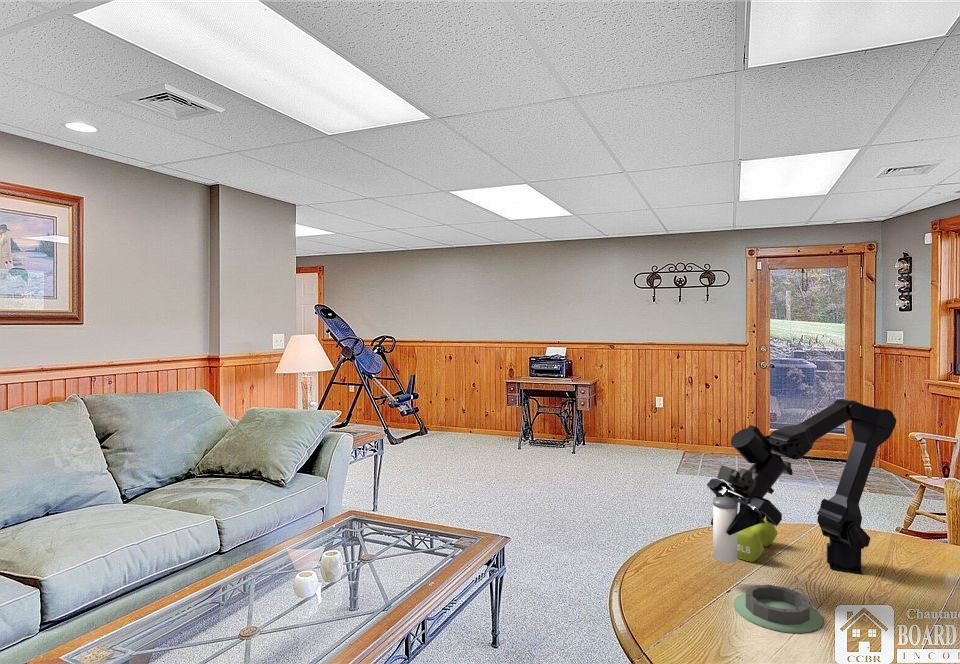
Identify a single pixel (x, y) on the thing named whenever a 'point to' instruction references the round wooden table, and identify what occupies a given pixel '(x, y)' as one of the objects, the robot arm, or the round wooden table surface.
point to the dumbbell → (754, 540)
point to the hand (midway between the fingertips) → (719, 529)
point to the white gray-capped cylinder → (724, 529)
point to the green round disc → (778, 609)
